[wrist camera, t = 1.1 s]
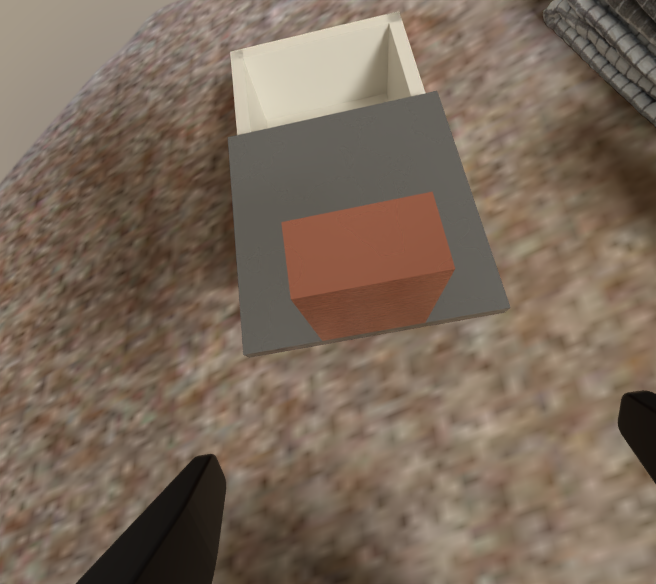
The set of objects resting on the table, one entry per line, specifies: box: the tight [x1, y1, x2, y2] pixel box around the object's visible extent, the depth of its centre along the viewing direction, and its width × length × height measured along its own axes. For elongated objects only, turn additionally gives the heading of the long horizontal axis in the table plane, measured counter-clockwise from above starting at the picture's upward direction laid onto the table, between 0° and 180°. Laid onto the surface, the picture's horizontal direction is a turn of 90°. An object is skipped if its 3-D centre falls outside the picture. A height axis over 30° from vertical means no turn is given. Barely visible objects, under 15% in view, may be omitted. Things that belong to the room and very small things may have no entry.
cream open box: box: [230, 11, 425, 135], centre depth 24 cm, size 12×11×6 cm
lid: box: [228, 91, 510, 358], centre depth 15 cm, size 12×11×7 cm
